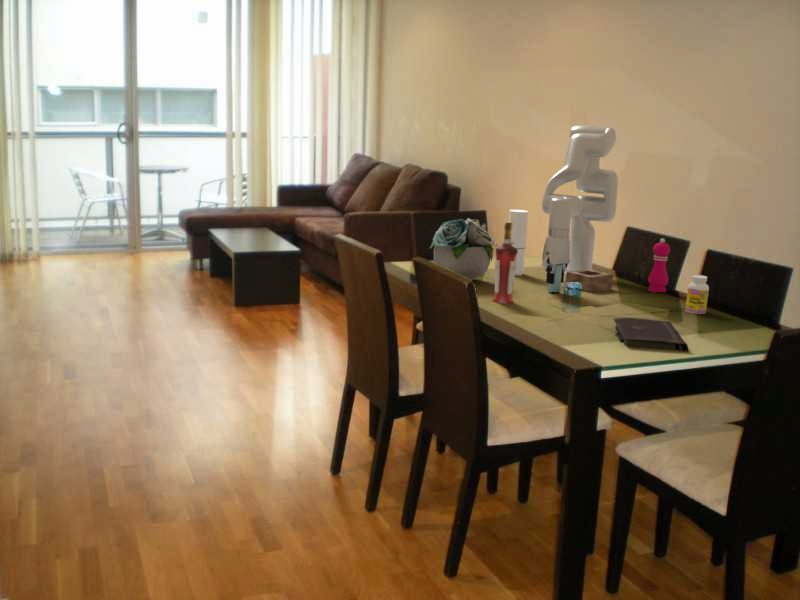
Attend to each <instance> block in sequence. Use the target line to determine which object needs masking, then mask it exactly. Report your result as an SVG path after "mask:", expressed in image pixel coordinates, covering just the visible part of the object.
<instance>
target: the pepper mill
mask: <svg viewBox="0 0 800 600" xmlns="http://www.w3.org/2000/svg"><path fill="white" fill-rule="evenodd" d="M665 239H666V238H664V237H663V238H660V240H659V242H657V243H655V244H654V246H653V247H652V248H653V249H652V250H653V253H654V255H653V260H654V264H653V267H652V270H651V271H650V273H649V275H648V279H647V282H648V283H649V286H648V292H650V291H651V292H650V293H655V292H665V293H666V292H667V287H666V286H667V285H668V283H669V276H668V272H667V268H666V265H667V261H668V255H669V254H670V252H671V248H670V245H669V244H668V243H666V240H665Z"/></svg>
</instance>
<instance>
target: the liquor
mask: <svg viewBox="0 0 800 600" xmlns="http://www.w3.org/2000/svg"><path fill="white" fill-rule="evenodd" d="M512 223H513V222H509V221H504V223H503V224H504V226H503V228H504V229H503V231H504V232H503V233H504V234H503V237H502V238H503V239H502V244H501V245H498V246H496V247H495V259H494V260H495V261H494V271H495V272H494V274H495V275H494V294H493V295H494V296H493V299H492V301H493V303H496V304H497V303H498V304H506V305H509V304H512V303H514V301H513V291H514V284H515V283H514V282H515V276H516V275H515V269H516V260H517V252H518V250H517V249H516V248H515V247H513V246H511V230H512Z"/></svg>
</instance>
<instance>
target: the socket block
mask: <svg viewBox="0 0 800 600" xmlns="http://www.w3.org/2000/svg"><path fill="white" fill-rule="evenodd" d="M565 275H566V276H565V283H566V282H579V283H581V285H582V290H581V291H584V292H588V293H596V292H603V291H611V290H612V288H613V282H614V281H613V280H614V278H613V277H614V274H613V273H609V272H603V271H600V270H595V269H592V270H591V269H582V270H575V271H568V272H567V273H566V274H565Z"/></svg>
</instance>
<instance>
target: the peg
mask: <svg viewBox="0 0 800 600" xmlns="http://www.w3.org/2000/svg"><path fill="white" fill-rule="evenodd" d="M551 267H552V266H550V268H551ZM553 273H555V276H554V284H549V283H547V284H548V285H547V292H548V291H549V292H548V293H552V292H555V293H554V294H557V293H556V292H559V293H561V288H562V287H561V286H562V285H561V284H562V283H561V276H562V264H559V265H555V268H554V272H553Z"/></svg>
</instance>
